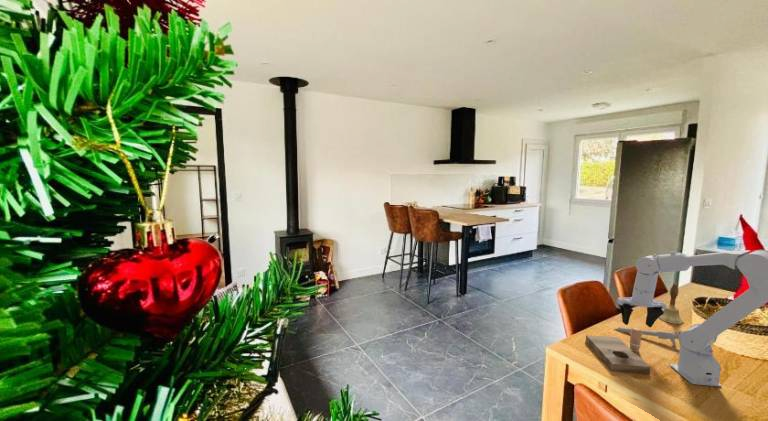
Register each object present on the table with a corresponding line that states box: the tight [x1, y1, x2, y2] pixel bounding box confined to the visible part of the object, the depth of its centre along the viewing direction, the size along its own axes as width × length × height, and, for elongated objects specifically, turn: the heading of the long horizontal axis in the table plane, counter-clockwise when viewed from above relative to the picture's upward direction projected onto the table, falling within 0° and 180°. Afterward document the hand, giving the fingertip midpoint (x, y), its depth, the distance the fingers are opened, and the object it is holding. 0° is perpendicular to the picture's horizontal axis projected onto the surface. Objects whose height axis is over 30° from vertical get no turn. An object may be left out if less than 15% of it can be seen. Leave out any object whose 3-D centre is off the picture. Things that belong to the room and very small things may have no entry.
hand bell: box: [658, 283, 684, 325], centre depth 136 cm, size 8×8×16 cm
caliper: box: [613, 326, 681, 347], centre depth 122 cm, size 20×1×6 cm, turn 49°
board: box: [585, 334, 651, 375], centre depth 110 cm, size 18×11×2 cm, turn 171°
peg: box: [629, 326, 643, 353], centre depth 114 cm, size 3×3×8 cm
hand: (636, 324), depth 113 cm, fingers open, 7 cm apart
